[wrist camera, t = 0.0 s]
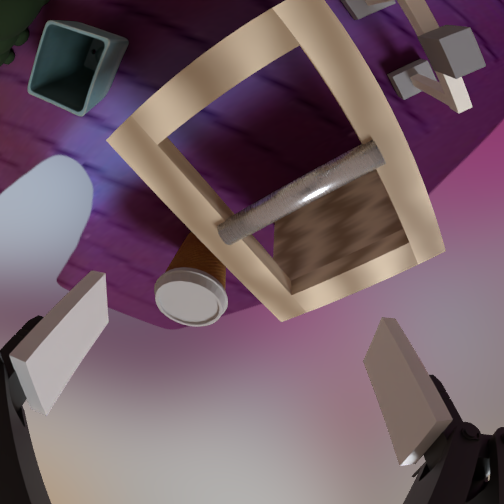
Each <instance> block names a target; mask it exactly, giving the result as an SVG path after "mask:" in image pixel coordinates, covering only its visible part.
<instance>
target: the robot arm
mask: <svg viewBox="0 0 504 504" xmlns="http://www.w3.org/2000/svg"><path fill="white" fill-rule="evenodd" d="M108 322H109V321H108V309H107V294H106V275H105V273H101V272H96V271H91V272H90V273H88V274H87V275H86V276H85V277H84V278H83V279H82V280H81V281H80V282H79V283H78V284H77V285H76V286H75V287H74V288H73V289H72V290H71V291H70V292H69V293H68V294H67V295H66V296H64V297H63V298H62V299H61V300H60V301H59V302H58V303H57V304H56V306H54V307H53V309H52V310H51V311H50V312H49V313H48V314H47V315H46V316H45V317H42V316H37V317H35V318H33V319H31V320H29V321H28V322H27V323H26V324H25V325H24V326H23V327H22V329H20V330H19V331H18V332H17V333H16V335H14V336H13V337H12V338H11V339H10V340H9V341H8V342H7V343H6V345H5V346H4V347H3V348H2V349H1V350H0V504H51V502H50V499H49V496H48V494H47V491H46V488H45V485H44V483H43V480H42V476H41V473H40V470H39V467H38V464H37V461H36V457H35V453H34V450H33V446H32V442H31V438H30V434H29V430H28V426H27V421H26V416H25V412H24V409H23V406H22V405H23V403H24V402H25V400H26V399H27V401H28V404H29V406H30V408H31V409H32V410H34V411H36V412H38V413H40V414H43V415H45V416H47V415H48V413H49V411H50V410H51V408H52V407H53V405H54V403H55V402H56V400H57V399H58V397H59V395H60V394H61V392H62V390H63V389H64V387H65V386H66V384H67V383H68V381H69V380H70V378H71V376H72V375H73V373H74V372H75V370H76V369H77V367H78V366H79V364H80V363H81V361H82V360H83V358H84V357H85V355H86V354H87V352H88V351H89V350H90V348H91V347H92V345H93V344H94V342H95V341H96V339H97V338H98V336H99V335H100V334H101V332H102V331H103V329H104V328H105V326H106V325H107V324H108ZM363 362H364V364H365V368H366V370H367V373H368V375H369V378H370V381H371V383H372V386H373V389H374V392H375V394H376V397H377V400H378V403H379V406H380V408H381V411H382V414H383V417H384V420H385V422H386V426H387V429H388V432H389V434H390V437H391V440H392V444H393V447H394V450H395V453H396V456H397V459H398V462H399V465H400V466H402V465H409V464H416V463H417V461H418V460H419V459H420V458H421V457H422V456H423V455H424V457H425V460H426V462H425V463H424V464H423V465H422V466H421V467H420V468H419V469H418V470H417V471H416V472H415V473H414V474H413V476H412V477H415V476H416V475H417V474H418V475H417V477H416V480H415V481H414V484H413V485H412V487H411V490H410V491H409V493H408V495H407V497H406V499H405V501H404V503H403V504H504V427H500V428H498V429H497V430H496V432H495V433H494V434H493V435H484V434H481V433H480V431H479V429H478V428H477V427H476V426H474V425H473V424H471V423H468V422H463V421H462V419H461V417H460V415H459V413H458V412H457V410H456V408H455V406H454V404H453V402H452V401H451V399H449V398H450V397H449V395H448V394H447V392H446V390H445V388H444V386H443V385H442V383H441V382H440V381H439V380H438V379H437V378H436V377H435V376H434V375H429V374H428V372H427V371H426V369H425V367H424V365H423V364H422V362H421V361H420V359H419V357H418V355H417V354H416V352H415V350H414V348H413V347H412V345H411V344H410V342H409V340H408V338H407V337H406V335H405V334H404V332H403V330H402V329H401V327H400V326H399V324H398V322H397V321H396V319H393V318H384V317H382V318H381V321H380V323H379V326H378V328H377V331H376V333H375V335H374V338H373V340H372V342H371V345H370V347H369V349H368V351H367V354H366V356H365V358H364V360H363ZM489 474H490V480H489V481H488V475H489Z"/></svg>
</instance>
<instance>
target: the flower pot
mask: <svg viewBox="0 0 504 504" xmlns="http://www.w3.org/2000/svg"><path fill="white" fill-rule="evenodd" d="M128 44H129V42H128V40H127V39H126V38H124V37H121V36H118V35H116V34H113V33H110V32H107V31H104V30H101V29H98V28H95V27H92V26H89V25H87V24H84V23H80V22H76V21H62V20H49V21H47V22H46V25H45V27H44V30H43V33H42V36H41V40H40V43H39V46H38V50H37V54H36V57H35V61H34V65H33V69H32V72H31V76H30V80H29V83H28V93H29V94H31V95H33V96H36V97H38V98H40V99H43V100H45V101H47V102H50V103H52V104H54V105H56V106H59V107H61V108H63V109H65V110H67V111H69V112H71V113H73V114H75V115H78V116H84V115H85V114H86V113H87V112H88V111H89V110H90V109H92V108H93V107H94V106H95V105H96V104H98V103H99V102H100V101H101V100H102V99H103V98H104V97H105V96H106V94H107V93H108V91H109V89H110V87H111V85H112V83H113V80H114V77H115V75H116V72H117V70H118V67H119V65H120V62H121V60H122V58H123V55H124V53H125V51H126V49H127V47H128ZM94 49H95V50H96V52H95V53H93V50H94Z"/></svg>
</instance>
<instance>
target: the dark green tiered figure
mask: <svg viewBox="0 0 504 504" xmlns="http://www.w3.org/2000/svg"><path fill="white" fill-rule="evenodd" d="M49 1H50V0H0V66H1V65H2V64H3V63H4V64H10V63H11V62H12V61H13V60H14V58H15V54H14V53H13V52H12V51H10V48H11V47H12V46H13V45H16V46H20V45H23V44H24V43H25V42H26V41H27V40H28V37H29V32H28V30H27V29H26V28H27V27H28V26H29V25H30V24H31V23H32V22H33V20H34V19H35V18H36V16H37V15H38V13H39V12H40V10H41V7H42V6H43V5H45V4H47V3H48V2H49Z"/></svg>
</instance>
